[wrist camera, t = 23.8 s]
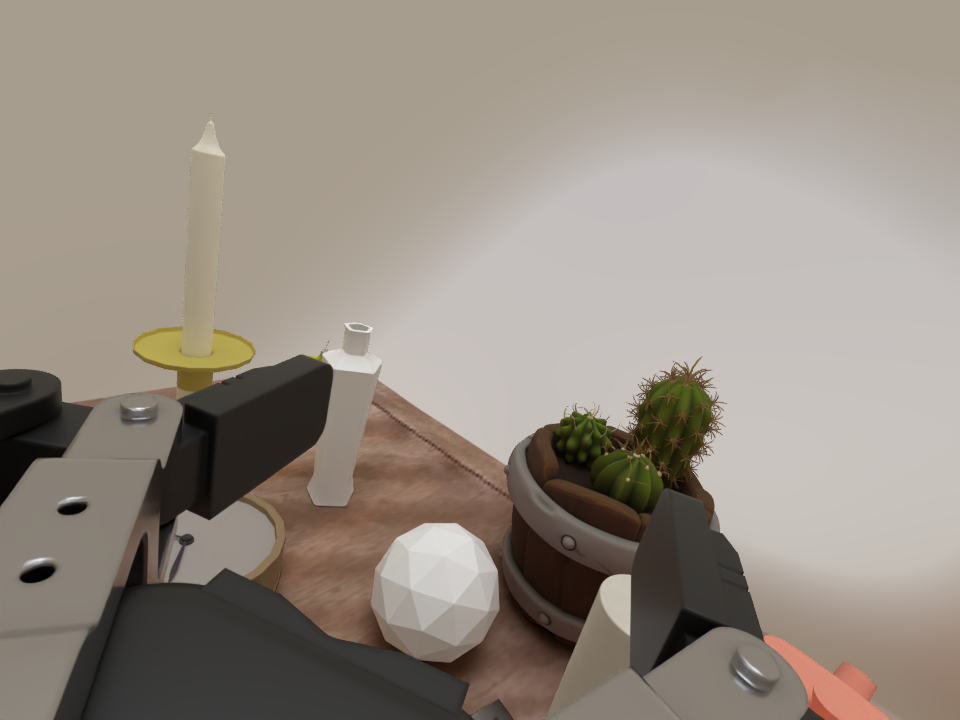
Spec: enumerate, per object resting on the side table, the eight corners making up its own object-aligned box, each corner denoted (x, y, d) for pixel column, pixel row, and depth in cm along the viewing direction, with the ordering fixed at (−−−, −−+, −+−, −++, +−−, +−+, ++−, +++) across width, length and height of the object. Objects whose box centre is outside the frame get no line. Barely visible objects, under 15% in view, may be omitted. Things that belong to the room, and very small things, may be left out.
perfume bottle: (324, 518, 40) (354, 341, 35) (292, 489, 42) (316, 319, 37) (369, 499, 43) (403, 336, 38) (338, 473, 46) (366, 316, 41)
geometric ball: (446, 676, 33) (533, 658, 28) (335, 661, 29) (414, 638, 24) (450, 556, 38) (525, 525, 33) (356, 530, 34) (425, 490, 29)
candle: (253, 486, 41) (292, 135, 32) (103, 489, 37) (101, 85, 28) (255, 424, 50) (287, 132, 41) (133, 420, 45) (139, 94, 37)
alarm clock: (291, 487, 38) (274, 632, 24) (283, 547, 38) (261, 721, 25) (115, 479, 34) (-29, 644, 20) (110, 545, 35) (-32, 749, 21)
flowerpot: (528, 712, 29) (651, 404, 23) (451, 529, 42) (515, 301, 36) (712, 673, 35) (852, 419, 28) (594, 523, 48) (671, 326, 41)
